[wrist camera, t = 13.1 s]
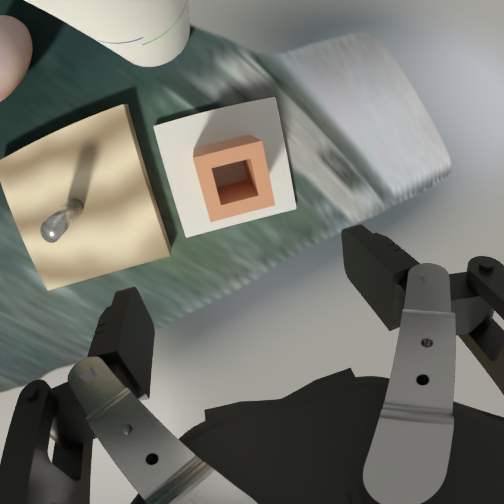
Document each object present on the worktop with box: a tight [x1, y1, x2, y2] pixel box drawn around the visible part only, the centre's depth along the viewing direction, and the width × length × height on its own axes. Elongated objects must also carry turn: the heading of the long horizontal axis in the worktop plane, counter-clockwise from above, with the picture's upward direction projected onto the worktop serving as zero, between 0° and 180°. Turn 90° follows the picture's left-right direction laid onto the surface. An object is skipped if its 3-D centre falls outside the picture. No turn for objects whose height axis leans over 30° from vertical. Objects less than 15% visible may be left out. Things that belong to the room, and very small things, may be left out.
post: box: [40, 198, 84, 243], centre depth 26 cm, size 2×2×6 cm
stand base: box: [0, 104, 171, 290], centre depth 29 cm, size 16×16×2 cm
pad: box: [153, 97, 296, 238], centre depth 31 cm, size 12×12×1 cm
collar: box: [193, 135, 275, 222], centre depth 28 cm, size 6×6×6 cm
